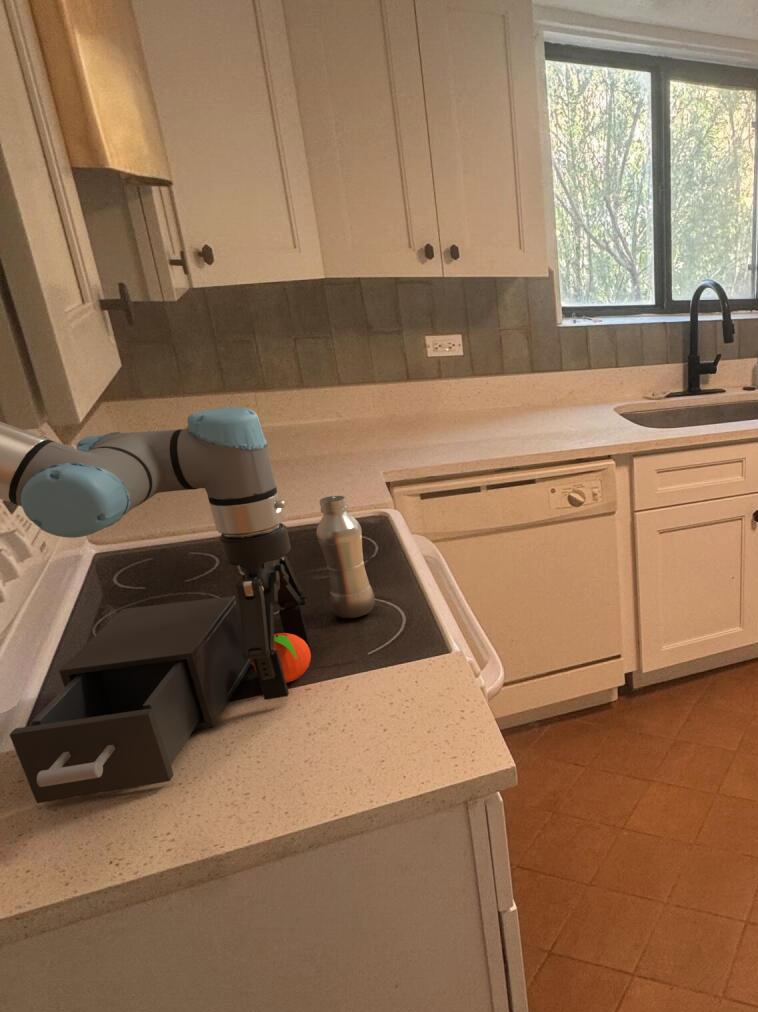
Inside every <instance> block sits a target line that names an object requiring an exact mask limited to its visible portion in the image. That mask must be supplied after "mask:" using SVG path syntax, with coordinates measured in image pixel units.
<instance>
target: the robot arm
mask: <svg viewBox="0 0 758 1012" xmlns="http://www.w3.org/2000/svg"><path fill="white" fill-rule="evenodd" d="M186 421H187V426H186V427H185V428H180V429H170V430H169V429H168V430H167V429H166V430H149V431H148V430H147V431H133V432H132V431H130V432H120V431H111V432H108V433H105V434H97V435H89V436H85V437H83V438H81V439H80V440H79V441H78V442H77V444H76V448H75V447H72V446H68V445H67V444H63V443H61V442H57V441H55V440H51V439H49V438H47V437H44V436H41V435H38V434H35V433H33V432H30V431H27V430H24V429H22V428H20V427H17V426H14V425H11V424H8V423H5V422H2V421H0V500H2V501H4V502H7V503H10V504H14V505H16V506H19V507H21V508H22V510H23V512H24V515H25V516H26V517H27V519H28V520H29V521H31V522H32V523H33V524H34V525H35V526H37V527H38V528H39V529H40V530H41V531H42V532H45V533H47V534H50V535H53V536H56V537H61V538H70V539H71V538H74V539H76V538H83V537H86V536H90V535H93V534H96V533H98V532H99V531H102V530H104V529H106V528H109V527H111V526H114V525H115V524H116V523H118V522H119V521H120V520H122V518H123V517H124V516H125V515H126V514H128V513H129V512H130V511H132V510H133V509H135V508H136V507H138V506H140V505H142V504H143V503H145V502H146V501H148V500H149V499H151V498H152V497H154V496H156V495H157V494H160V493H169V492H179V491H191V490H192V491H193V490H198V489H204V490H205V492H206V494H207V499H208V503H209V507H210V511H211V515H212V519H213V523H214V526H215V530H216V531H217V532H218V534H220V536H219V542H220V546H221V549H222V554H223V557H224V561H225V562H226V563H227V564H230V565H233V566H239V567H241V568H243V570H244V571H243V572H244V574H243V575H242V580H237V581H236V584H235V587H236V591H237V596H238V601H239V613H240V617H241V623H242V634H243V645H244V653H243V657H244V659H246V660H250V659H252V661H253V660H254V663H255V667H256V671H257V673H256V674H257V678H258V682H259V685H260V689H261V693H262V696H263V700H264V701H266V700H273V699H279V698H285V697H288V696H289V694H290V692H289V689H288V685H287V683H286V681H285V677H284V673H283V669H282V665H281V661H280V657H279V654H278V650H274V634H275V615H274V614H275V613H274V612H275V611H274V608H275V607H274V606H275V605H278V606H279V607H280V608H282V609H279V610H278V615H279V618H280V622H281V626H282V629H283V633H289V634H293V635H296V636H298V637H300V638H301V639H303V640H304V641H305V642H306V644H307V645H308V647H309V650H311V647H312V646H311V644H310V639H309V635H308V630H307V626H306V622H305V618H304V614H303V609H302V606H305V605H307V597H306V596H303V595H304V591H303V589H302V587H301V585H300V583H299V580H298V578H297V576H296V574H295V571H294V569H293V567H292V565H291V563H290V561H289V559H288V553H290V552H291V550H292V549H291V548H292V545H291V542H290V537H289V534H288V528H287V526H286V525H285V524H284V523H282V522H283V521H284V519H285V518H284V514H283V509H282V508H285V507H286V502H285V501H284V500H281V499H280V500H279V493H278V489H277V485H276V481H275V477H274V476H275V475H274V471H273V468H272V467H273V466H272V461H271V457H270V453H269V449H268V446H269V445H268V440H267V439H266V438H265V435H264V431H263V428H262V424H261V422H260V419H259V416H258V414H257V412H256V411H254V410H253V409H250V408H248V407H243V406H227V407H225V406H224V407H218V408H207V409H202V410H198V411H194V412H193V413H190V414H189V415H188V416H187V420H186ZM257 647H258V648H257ZM256 671H255V672H256Z"/></svg>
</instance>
